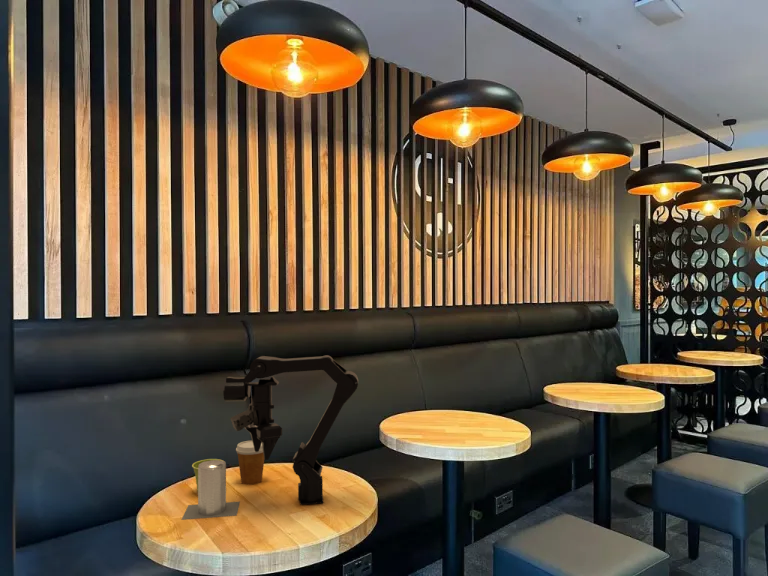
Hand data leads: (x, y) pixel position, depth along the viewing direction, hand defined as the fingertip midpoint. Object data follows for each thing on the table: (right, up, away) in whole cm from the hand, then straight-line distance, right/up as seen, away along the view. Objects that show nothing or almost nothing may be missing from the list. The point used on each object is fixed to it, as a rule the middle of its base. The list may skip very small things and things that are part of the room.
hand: (261, 455), depth 153 cm
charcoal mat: (-12, -13, -7) cm, 19 cm away
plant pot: (-17, -14, +7) cm, 23 cm away
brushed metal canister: (-12, -13, -7) cm, 19 cm away
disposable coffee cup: (-7, -14, +16) cm, 22 cm away
